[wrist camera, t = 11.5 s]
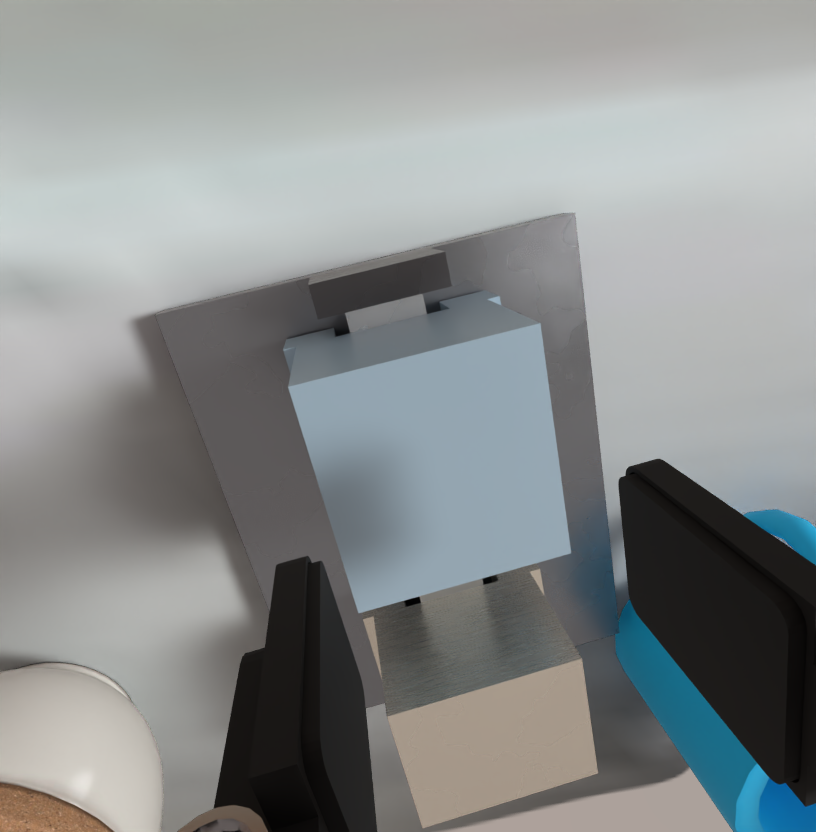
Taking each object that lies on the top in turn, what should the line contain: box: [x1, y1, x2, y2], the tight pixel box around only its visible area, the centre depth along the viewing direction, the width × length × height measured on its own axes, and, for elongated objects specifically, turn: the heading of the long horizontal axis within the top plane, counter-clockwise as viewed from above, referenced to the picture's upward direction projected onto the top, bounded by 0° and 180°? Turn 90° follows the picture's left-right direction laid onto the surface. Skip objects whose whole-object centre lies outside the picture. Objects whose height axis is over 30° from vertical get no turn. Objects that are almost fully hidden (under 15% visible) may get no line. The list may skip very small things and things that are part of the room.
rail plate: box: [155, 213, 620, 828], centre depth 19 cm, size 14×18×7 cm
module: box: [283, 290, 571, 613], centre depth 17 cm, size 7×6×6 cm
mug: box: [615, 510, 816, 832], centre depth 22 cm, size 12×8×8 cm
